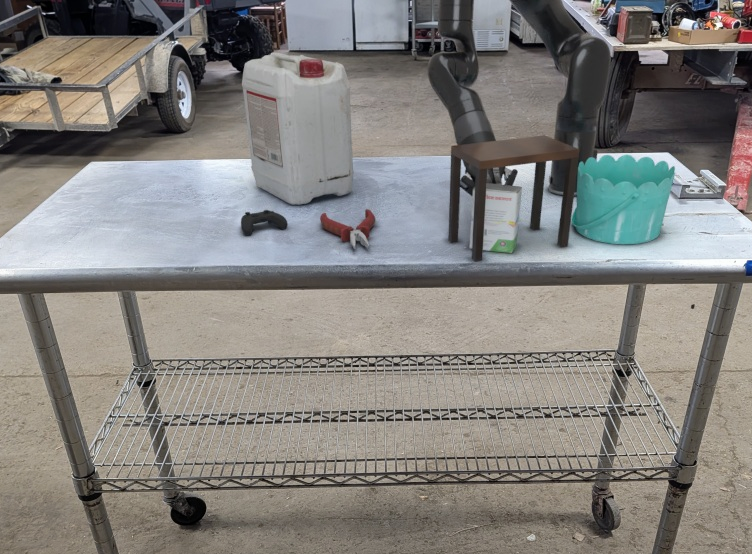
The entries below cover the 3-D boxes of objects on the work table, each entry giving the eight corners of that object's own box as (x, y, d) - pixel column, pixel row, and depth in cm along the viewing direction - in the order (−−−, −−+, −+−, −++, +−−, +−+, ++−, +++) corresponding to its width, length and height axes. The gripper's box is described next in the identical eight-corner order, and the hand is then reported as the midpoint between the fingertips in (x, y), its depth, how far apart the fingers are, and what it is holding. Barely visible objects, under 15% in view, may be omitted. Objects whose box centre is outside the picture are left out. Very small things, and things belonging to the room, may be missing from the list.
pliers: (332, 256, 137) (332, 243, 135) (319, 223, 153) (318, 211, 152) (391, 251, 139) (391, 238, 137) (371, 218, 155) (371, 207, 154)
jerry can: (362, 195, 170) (357, 57, 154) (292, 210, 161) (279, 66, 145) (312, 173, 187) (303, 47, 171) (247, 186, 178) (231, 54, 162)
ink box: (468, 249, 139) (471, 188, 133) (475, 240, 143) (478, 180, 137) (512, 254, 136) (517, 192, 130) (517, 244, 141) (522, 184, 134)
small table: (535, 227, 149) (544, 135, 139) (567, 246, 139) (579, 149, 129) (448, 240, 143) (451, 145, 133) (475, 261, 134) (480, 161, 124)
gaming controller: (245, 233, 146) (236, 207, 147) (242, 245, 151) (233, 220, 152) (289, 225, 150) (280, 199, 151) (285, 237, 155) (276, 212, 156)
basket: (661, 251, 136) (674, 183, 129) (564, 241, 142) (571, 176, 135) (665, 219, 151) (676, 157, 144) (576, 211, 157) (584, 151, 150)
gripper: (452, 132, 140) (477, 212, 136) (512, 126, 143) (538, 203, 140) (440, 154, 147) (464, 230, 143) (497, 147, 151) (522, 221, 147)
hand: (500, 217), depth 142 cm, fingers closed
